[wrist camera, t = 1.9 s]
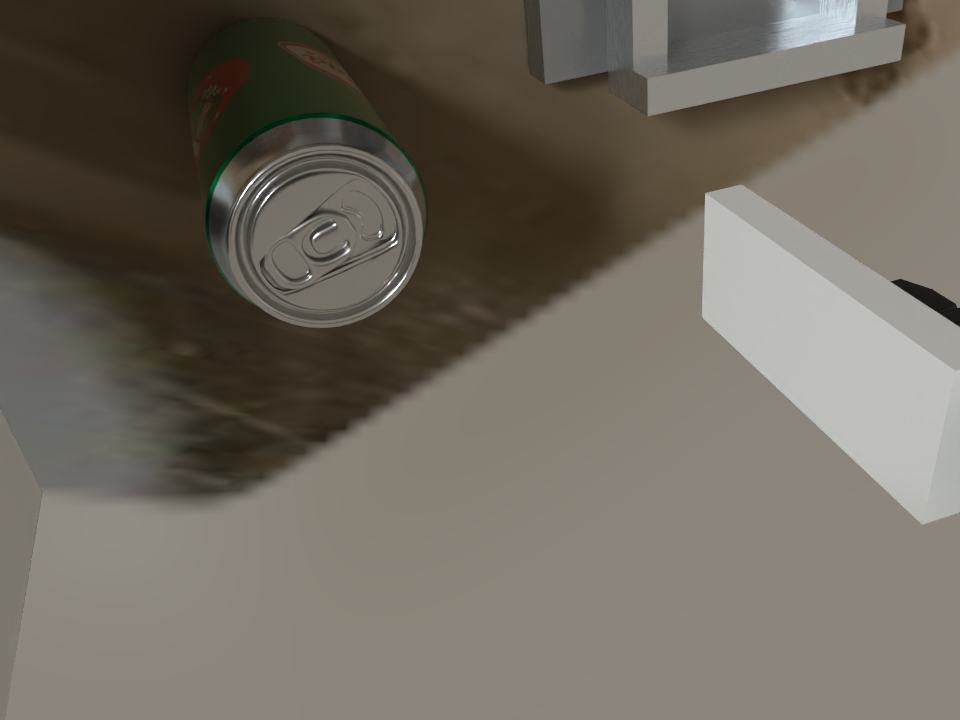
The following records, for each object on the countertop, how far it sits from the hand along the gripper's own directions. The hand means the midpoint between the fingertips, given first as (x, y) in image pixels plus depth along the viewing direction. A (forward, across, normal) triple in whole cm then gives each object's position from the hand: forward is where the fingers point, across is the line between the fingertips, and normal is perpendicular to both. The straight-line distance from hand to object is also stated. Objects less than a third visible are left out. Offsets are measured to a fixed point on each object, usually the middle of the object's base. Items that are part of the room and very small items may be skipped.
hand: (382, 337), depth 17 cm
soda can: (+16, 0, 0) cm, 16 cm away
